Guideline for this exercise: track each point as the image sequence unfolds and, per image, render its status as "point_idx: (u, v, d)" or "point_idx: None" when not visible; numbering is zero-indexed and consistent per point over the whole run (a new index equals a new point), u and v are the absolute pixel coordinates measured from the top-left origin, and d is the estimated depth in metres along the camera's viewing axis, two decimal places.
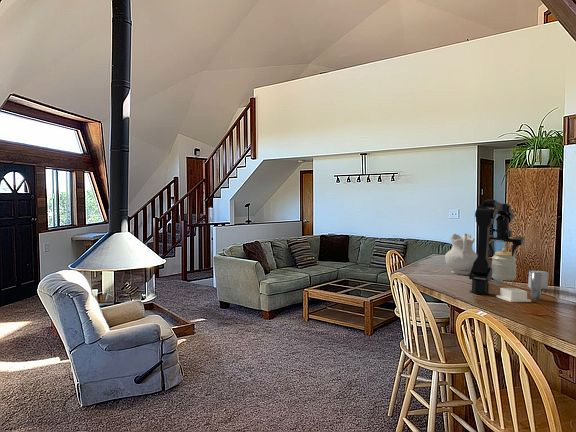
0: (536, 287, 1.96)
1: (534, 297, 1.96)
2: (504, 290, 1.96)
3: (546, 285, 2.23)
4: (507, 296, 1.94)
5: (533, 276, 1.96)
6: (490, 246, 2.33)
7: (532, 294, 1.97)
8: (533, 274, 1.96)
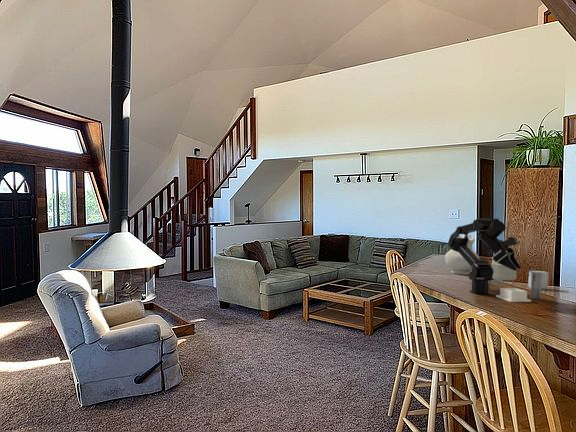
0: (536, 287, 1.96)
1: (534, 297, 1.96)
2: (504, 290, 1.96)
3: (546, 285, 2.23)
4: (507, 296, 1.94)
5: (533, 276, 1.96)
6: None
7: (532, 294, 1.97)
8: (533, 274, 1.96)
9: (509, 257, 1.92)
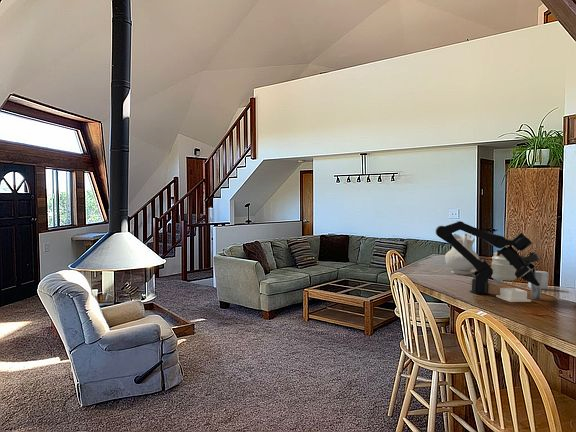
0: (536, 287, 1.96)
1: (534, 297, 1.96)
2: (504, 290, 1.96)
3: (546, 285, 2.23)
4: (507, 296, 1.94)
5: None
6: None
7: (532, 294, 1.97)
8: (533, 274, 1.96)
9: (532, 273, 1.96)
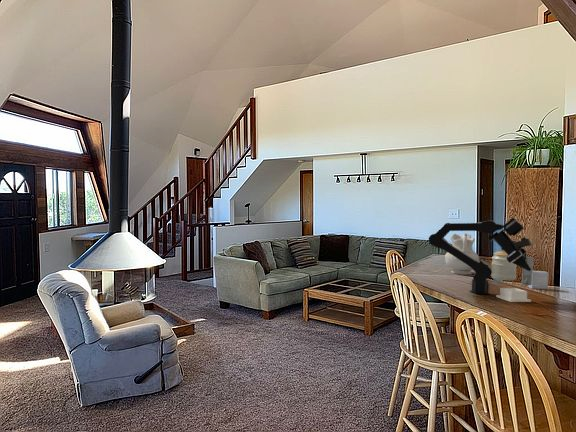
0: (527, 272, 1.95)
1: (525, 282, 1.95)
2: (504, 290, 1.96)
3: (546, 285, 2.23)
4: (507, 296, 1.94)
5: None
6: None
7: (523, 279, 1.96)
8: (525, 259, 1.96)
9: None
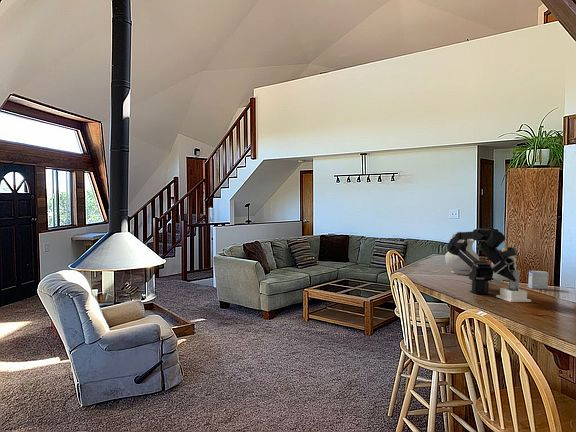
0: (514, 285, 1.94)
1: None
2: (504, 290, 1.96)
3: (546, 285, 2.23)
4: (507, 296, 1.94)
5: None
6: None
7: None
8: (511, 272, 1.95)
9: (509, 268, 1.92)
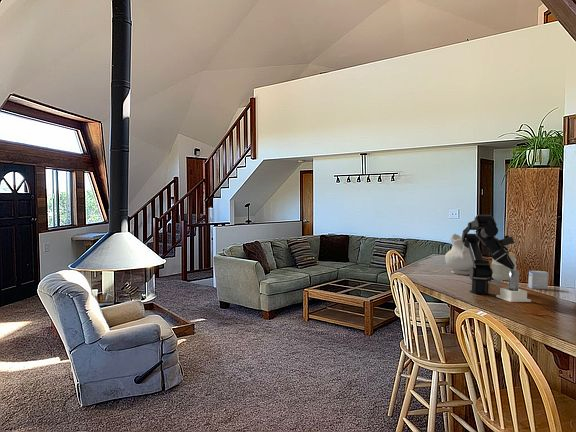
0: (513, 285, 1.94)
1: None
2: (504, 290, 1.96)
3: (546, 285, 2.23)
4: (507, 296, 1.94)
5: (510, 274, 1.95)
6: None
7: None
8: (510, 272, 1.95)
9: (507, 256, 1.93)
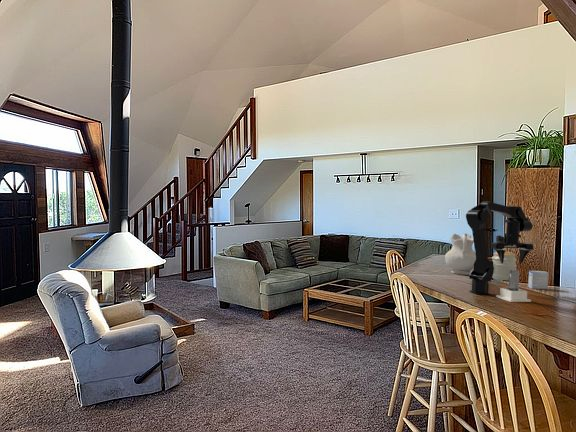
0: (513, 285, 1.94)
1: None
2: (504, 290, 1.96)
3: (546, 285, 2.23)
4: (507, 296, 1.94)
5: (510, 274, 1.95)
6: (503, 253, 2.13)
7: None
8: (510, 272, 1.95)
9: (520, 251, 2.18)
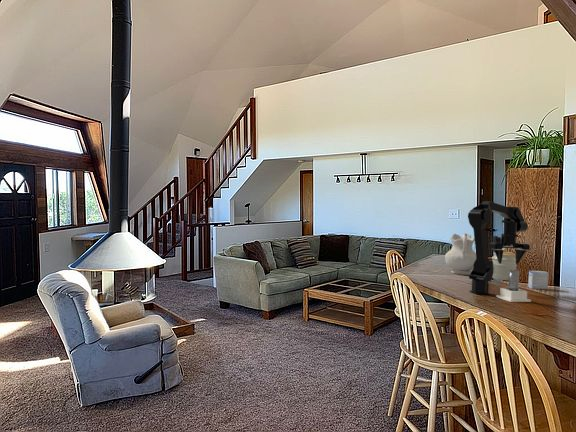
0: (513, 285, 1.94)
1: None
2: (504, 290, 1.96)
3: (546, 285, 2.23)
4: (507, 296, 1.94)
5: (510, 274, 1.95)
6: (501, 253, 2.15)
7: None
8: (510, 272, 1.95)
9: (516, 251, 2.21)
